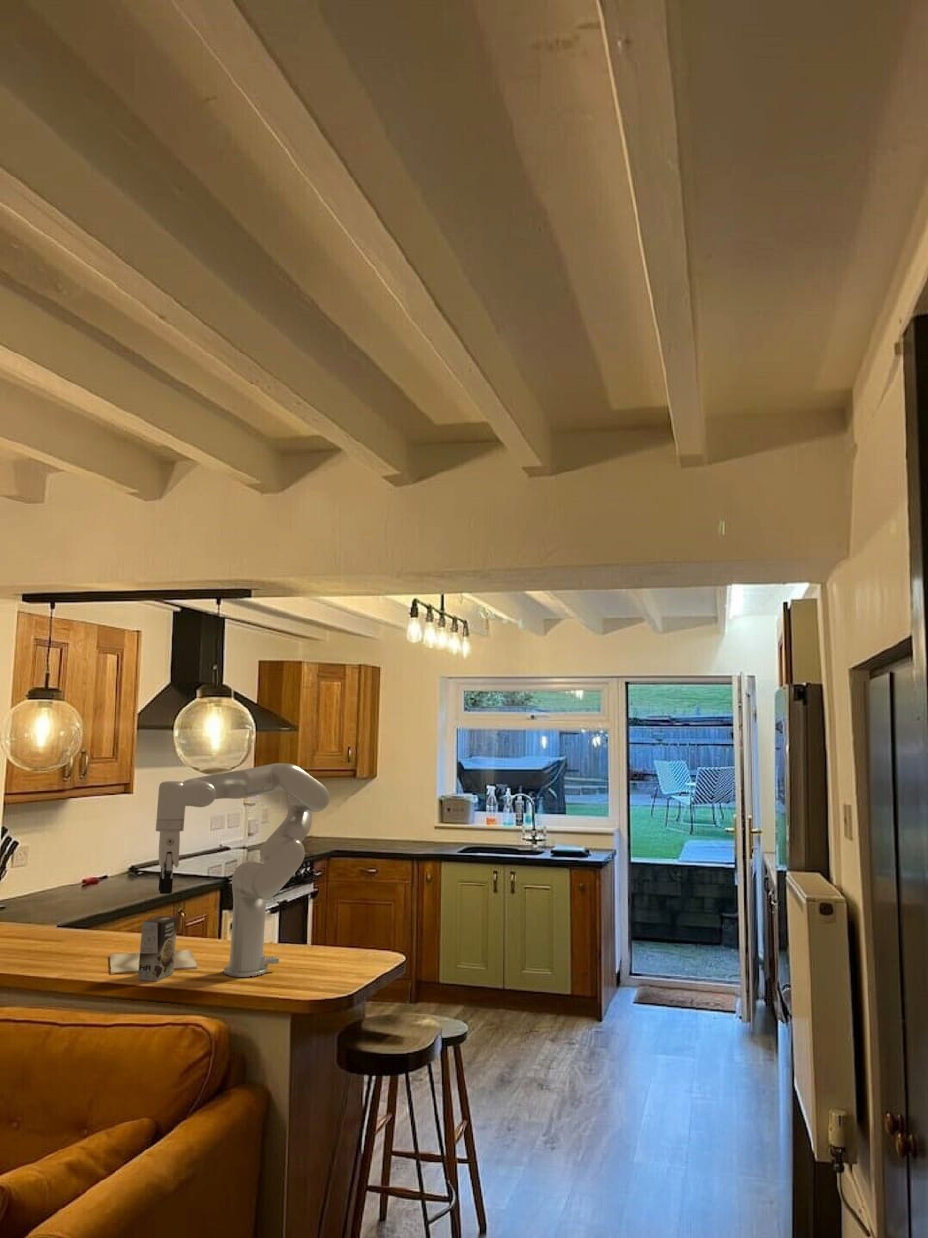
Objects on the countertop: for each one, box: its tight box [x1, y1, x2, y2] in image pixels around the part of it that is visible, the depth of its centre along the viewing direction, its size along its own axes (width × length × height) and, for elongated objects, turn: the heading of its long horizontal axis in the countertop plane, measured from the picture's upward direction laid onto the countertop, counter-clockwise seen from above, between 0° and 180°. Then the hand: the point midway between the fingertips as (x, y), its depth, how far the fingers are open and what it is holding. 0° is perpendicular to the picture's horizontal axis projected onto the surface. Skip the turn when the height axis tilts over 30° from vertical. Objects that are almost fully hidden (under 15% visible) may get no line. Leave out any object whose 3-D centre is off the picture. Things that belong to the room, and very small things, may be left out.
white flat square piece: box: [109, 949, 198, 974], centre depth 265 cm, size 24×22×1 cm
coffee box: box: [137, 915, 178, 982], centre depth 251 cm, size 9×6×16 cm
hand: (165, 891), depth 244 cm, fingers open, 4 cm apart
